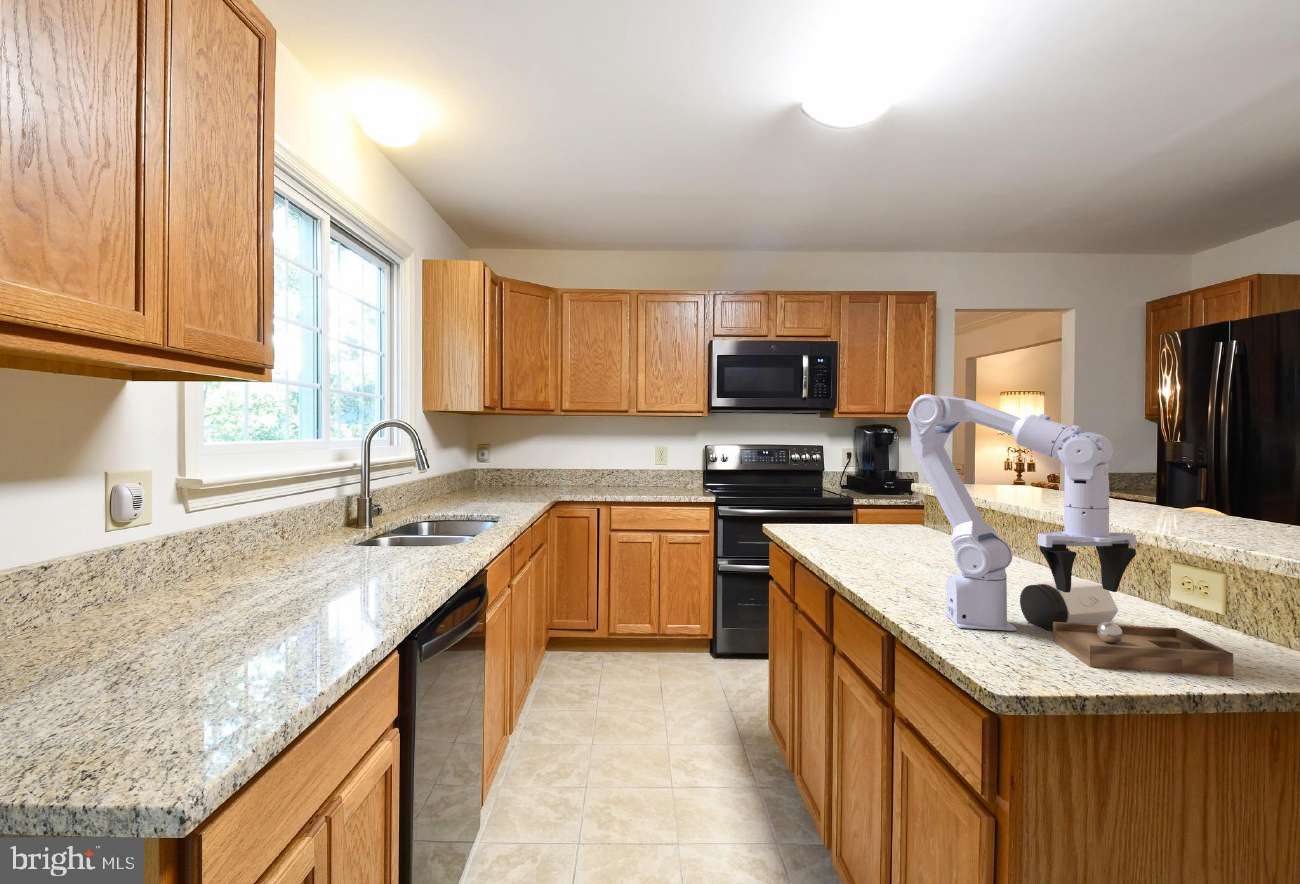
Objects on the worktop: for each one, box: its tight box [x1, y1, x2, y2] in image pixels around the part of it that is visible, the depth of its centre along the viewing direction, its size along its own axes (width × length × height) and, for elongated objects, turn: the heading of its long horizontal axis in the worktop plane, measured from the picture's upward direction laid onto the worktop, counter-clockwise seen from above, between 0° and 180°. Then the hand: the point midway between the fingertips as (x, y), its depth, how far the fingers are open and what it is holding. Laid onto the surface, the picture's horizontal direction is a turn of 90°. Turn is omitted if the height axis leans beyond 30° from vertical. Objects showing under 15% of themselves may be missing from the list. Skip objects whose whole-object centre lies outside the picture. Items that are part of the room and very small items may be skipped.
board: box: [1052, 622, 1234, 677], centre depth 87 cm, size 18×11×3 cm, turn 78°
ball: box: [1097, 621, 1123, 643], centre depth 88 cm, size 3×3×3 cm
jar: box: [1019, 578, 1119, 631], centre depth 102 cm, size 9×8×12 cm
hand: (1086, 590), depth 90 cm, fingers open, 7 cm apart
